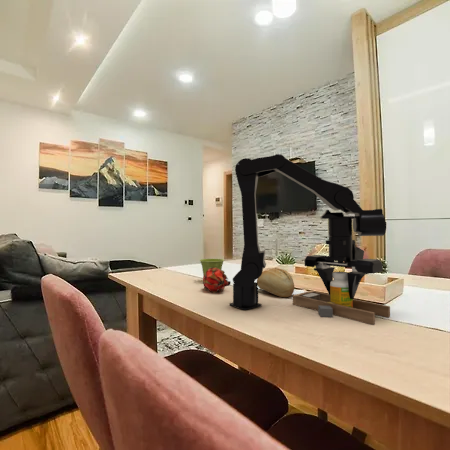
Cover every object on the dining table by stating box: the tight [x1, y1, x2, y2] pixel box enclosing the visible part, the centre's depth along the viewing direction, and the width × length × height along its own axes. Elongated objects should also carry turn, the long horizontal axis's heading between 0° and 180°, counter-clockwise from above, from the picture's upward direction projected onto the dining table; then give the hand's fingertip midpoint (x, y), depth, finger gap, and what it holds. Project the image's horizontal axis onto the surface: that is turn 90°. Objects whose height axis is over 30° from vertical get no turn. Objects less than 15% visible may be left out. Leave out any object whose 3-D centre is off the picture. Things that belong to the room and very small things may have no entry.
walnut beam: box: [292, 290, 391, 326], centre depth 77 cm, size 9×22×3 cm, turn 39°
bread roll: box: [256, 268, 296, 298], centre depth 96 cm, size 10×15×8 cm, turn 30°
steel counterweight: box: [302, 293, 320, 300], centre depth 83 cm, size 5×2×2 cm, turn 129°
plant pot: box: [199, 258, 225, 275], centre depth 115 cm, size 9×9×9 cm
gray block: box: [317, 305, 334, 318], centre depth 73 cm, size 3×3×2 cm
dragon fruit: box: [202, 267, 232, 294], centre depth 100 cm, size 8×8×12 cm
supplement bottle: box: [330, 271, 354, 308], centre depth 76 cm, size 5×5×10 cm
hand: (341, 296), depth 76 cm, fingers open, 5 cm apart
